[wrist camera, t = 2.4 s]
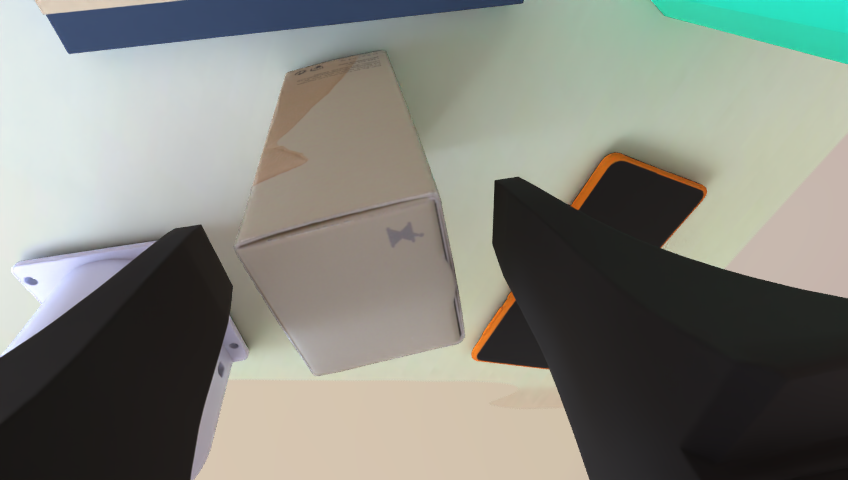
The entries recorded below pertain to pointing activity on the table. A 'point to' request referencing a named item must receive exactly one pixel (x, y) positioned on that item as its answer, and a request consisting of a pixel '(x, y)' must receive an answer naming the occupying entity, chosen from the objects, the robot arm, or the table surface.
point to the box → (349, 222)
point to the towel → (218, 17)
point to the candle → (773, 22)
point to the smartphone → (616, 207)
